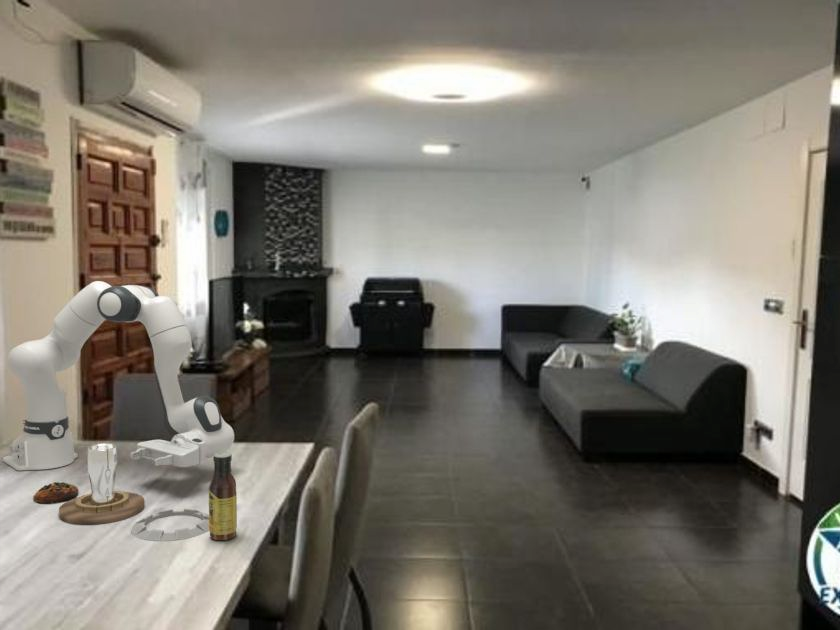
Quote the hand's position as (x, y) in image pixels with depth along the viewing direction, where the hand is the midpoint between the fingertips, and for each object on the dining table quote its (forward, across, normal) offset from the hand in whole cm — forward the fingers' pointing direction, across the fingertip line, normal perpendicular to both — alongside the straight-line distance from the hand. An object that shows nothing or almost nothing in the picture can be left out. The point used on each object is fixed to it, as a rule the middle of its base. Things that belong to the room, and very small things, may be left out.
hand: (142, 459), depth 192 cm
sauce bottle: (+6, +38, +11) cm, 40 cm away
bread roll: (+13, -19, +11) cm, 26 cm away
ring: (+8, +23, +11) cm, 27 cm away
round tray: (+12, 0, +10) cm, 16 cm away
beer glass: (+12, 0, +9) cm, 15 cm away
